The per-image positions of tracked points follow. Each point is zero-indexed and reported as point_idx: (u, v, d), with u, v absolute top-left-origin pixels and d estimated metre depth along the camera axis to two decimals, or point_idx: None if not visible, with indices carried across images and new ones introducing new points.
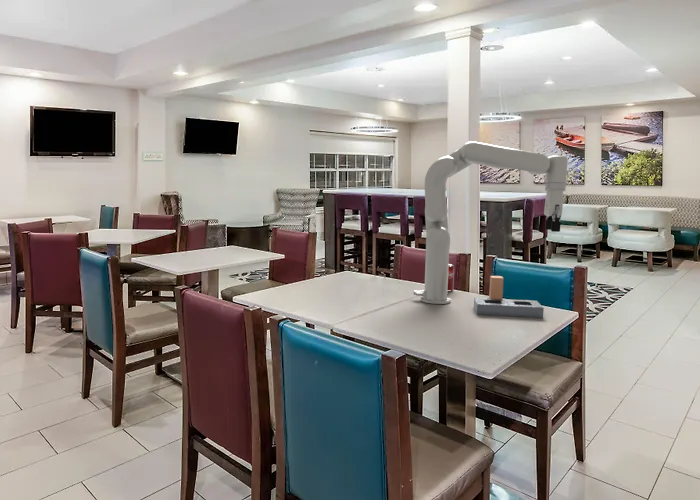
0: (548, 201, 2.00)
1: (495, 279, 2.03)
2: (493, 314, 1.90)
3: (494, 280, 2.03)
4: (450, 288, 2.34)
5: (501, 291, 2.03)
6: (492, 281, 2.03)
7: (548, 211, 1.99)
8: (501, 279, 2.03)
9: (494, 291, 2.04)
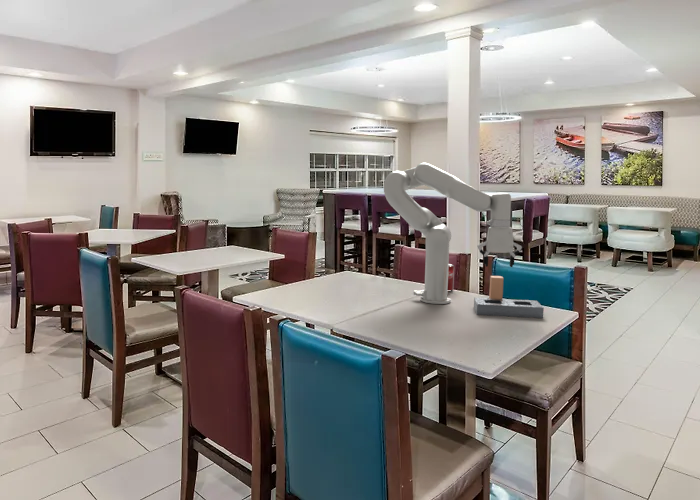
0: (506, 238, 2.00)
1: (495, 279, 2.03)
2: (493, 314, 1.90)
3: (494, 280, 2.03)
4: (450, 288, 2.34)
5: (501, 291, 2.03)
6: (492, 281, 2.03)
7: (508, 248, 2.01)
8: (501, 279, 2.03)
9: (494, 291, 2.04)
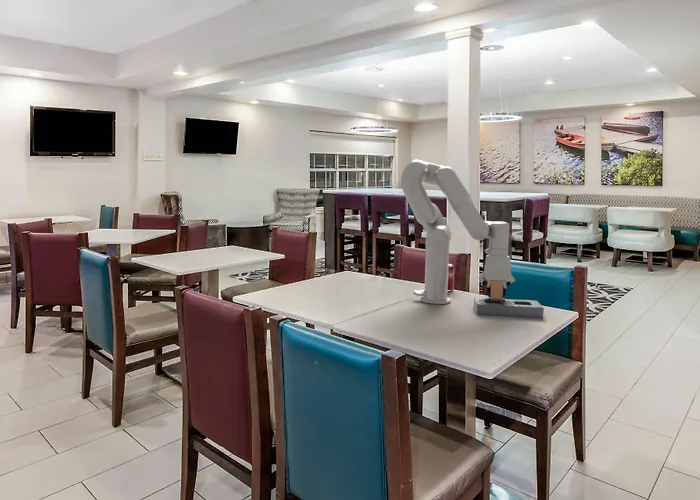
0: (504, 267, 2.02)
1: None
2: (493, 314, 1.90)
3: None
4: (450, 288, 2.34)
5: (501, 291, 2.03)
6: (492, 281, 2.03)
7: (506, 277, 2.02)
8: None
9: (494, 291, 2.04)
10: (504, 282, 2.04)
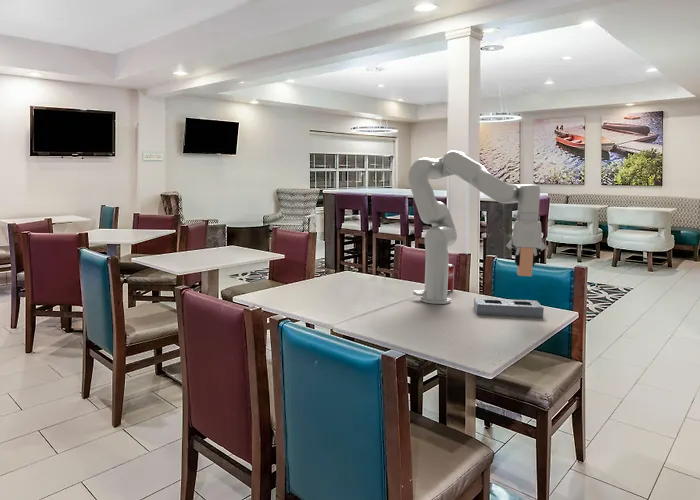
0: (534, 232, 1.88)
1: None
2: (493, 314, 1.90)
3: None
4: (450, 288, 2.34)
5: (531, 259, 1.90)
6: (521, 248, 1.90)
7: (536, 243, 1.88)
8: None
9: (524, 258, 1.90)
10: (534, 249, 1.90)
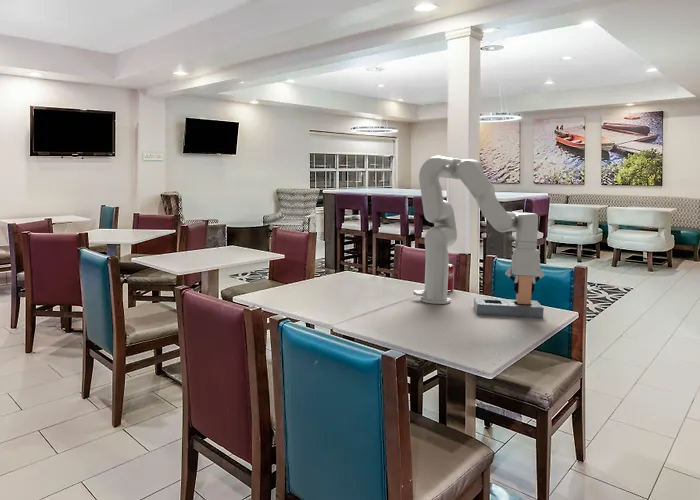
0: (532, 261, 1.89)
1: None
2: (493, 314, 1.90)
3: None
4: (450, 288, 2.34)
5: (530, 287, 1.91)
6: (520, 276, 1.91)
7: (535, 271, 1.89)
8: None
9: (522, 286, 1.91)
10: (533, 277, 1.91)
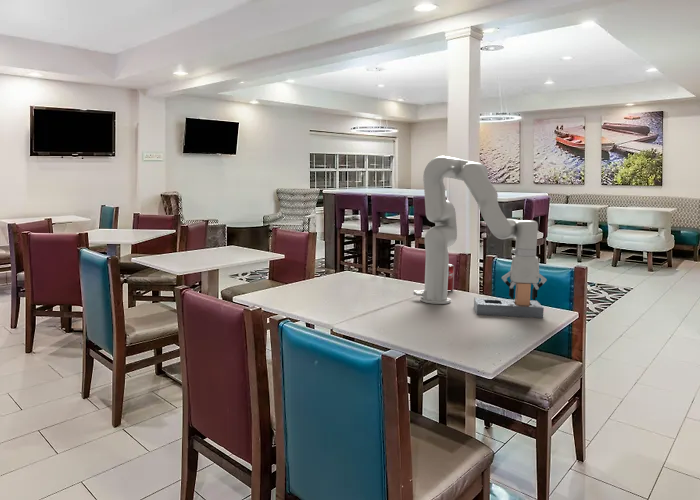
0: (532, 268, 1.89)
1: (522, 285, 1.91)
2: (493, 314, 1.90)
3: (521, 286, 1.91)
4: (450, 288, 2.34)
5: (528, 298, 1.91)
6: (519, 287, 1.91)
7: (534, 279, 1.90)
8: (528, 285, 1.91)
9: (521, 297, 1.92)
10: (534, 283, 1.91)
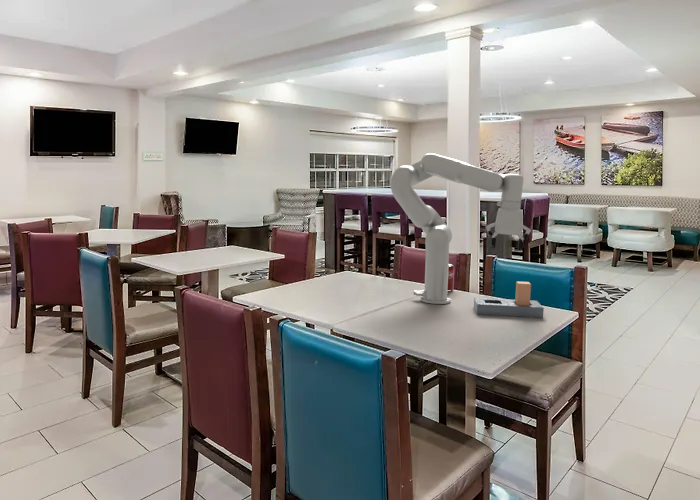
0: (515, 220, 1.97)
1: (522, 285, 1.91)
2: (493, 314, 1.90)
3: (521, 286, 1.91)
4: (450, 288, 2.34)
5: (528, 298, 1.91)
6: (519, 287, 1.91)
7: (517, 230, 1.98)
8: (528, 285, 1.91)
9: (521, 297, 1.92)
10: (519, 234, 1.99)
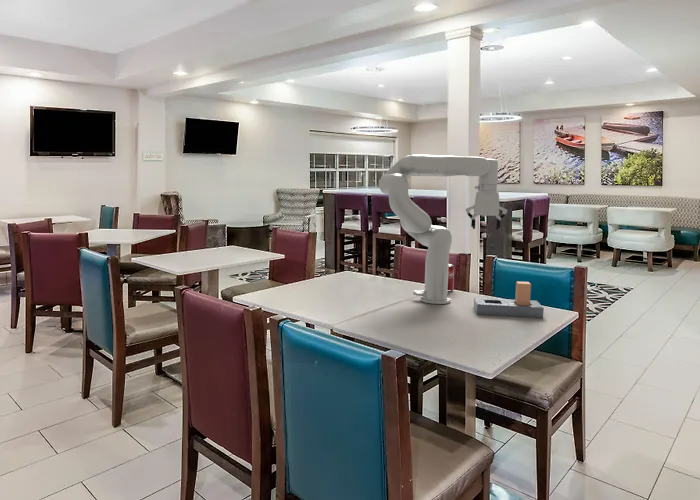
0: (492, 202, 2.12)
1: (522, 285, 1.91)
2: (493, 314, 1.90)
3: (521, 286, 1.91)
4: (450, 288, 2.34)
5: (528, 298, 1.91)
6: (519, 287, 1.91)
7: (494, 211, 2.12)
8: (528, 285, 1.91)
9: (521, 297, 1.92)
10: (497, 215, 2.14)
